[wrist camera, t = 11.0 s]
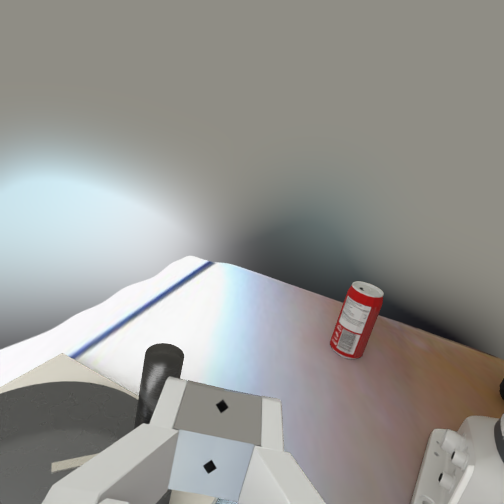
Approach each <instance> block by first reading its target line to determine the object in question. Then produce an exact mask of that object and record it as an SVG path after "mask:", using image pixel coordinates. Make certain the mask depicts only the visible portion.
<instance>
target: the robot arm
mask: <svg viewBox="0 0 504 504" xmlns="http://www.w3.org/2000/svg"><path fill="white" fill-rule="evenodd" d="M168 489H172V490H178V491H184V492H190V493H197V494H203V495H207V496H211V497H216V498H220V499H225V500H229V501H233V502H238V504H326V503H325V502H324V500H323V499H322V498H321V496H320V495H319V493H318V492H317V490H316V489H315V488H314V486H313V485H312V483H311V482H310V481H309V479H308V478H307V476H306V475H305V473H304V472H303V471H302V469H301V468H300V466H299V465H298V463H297V462H296V461H295V459H294V458H293V456H292V455H291V454H290V453H289V452H284V440H283V422H282V404H281V401H280V399H276V398H271V397H265V396H258V395H253V394H248V393H243V392H238V391H233V390H228V389H223V388H219V387H215V386H210V385H206V384H202V383H198V382H193V381H189V380H188V381H187V380H183V379H179V378H174V377H170V376H169V377H168V379H167V380H166V382H165V385H164V387H163V390H162V393H161V395H160V398H159V400H158V403H157V405H156V408H155V411H154V413H153V416H152V418H151V421H150V423H149V424H145V423H143V424H141V425H140V426H138V427H137V428H135V429H134V430H133V431H131V432H130V433H128V434H127V435H125V436H124V437H122V438H121V439H119V440H118V441H116V442H115V443H114V444H112V445H111V446H109V447H108V448H106V449H105V450H103V451H102V452H100V453H99V454H97V455H96V456H94V457H93V458H92V459H90V460H89V461H87V462H86V463H84V464H83V465H81V466H80V467H78V468H77V469H75V470H74V471H73V472H71V473H70V474H68V475H67V476H65V477H64V478H62V479H61V480H59V481H58V482H56V483H55V484H54V485H52V487H51V489H50V490H49V492H48V494H47V495H46V497H45V499H44V500H43V502H42V504H156V503H157V502H158V501H159V500H160V498H161V497H162V496H163V495H164V494H165V493H166V492H167V490H168ZM411 504H504V414H503V416H502V417H501V418H500V419H498V418H492V417H486V416H470V417H467V418H466V419H465V420H464V422H463V423H462V425H461V426H460V428H459V430H458V432H456V431H452V430H451V429H434V430H433V431H432V433H431V434H430V437H429V440H428V443H427V447H426V451H425V454H424V458H423V461H422V465H421V468H420V472H419V476H418V479H417V483H416V486H415V490H414V493H413V497H412V501H411Z"/></svg>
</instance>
